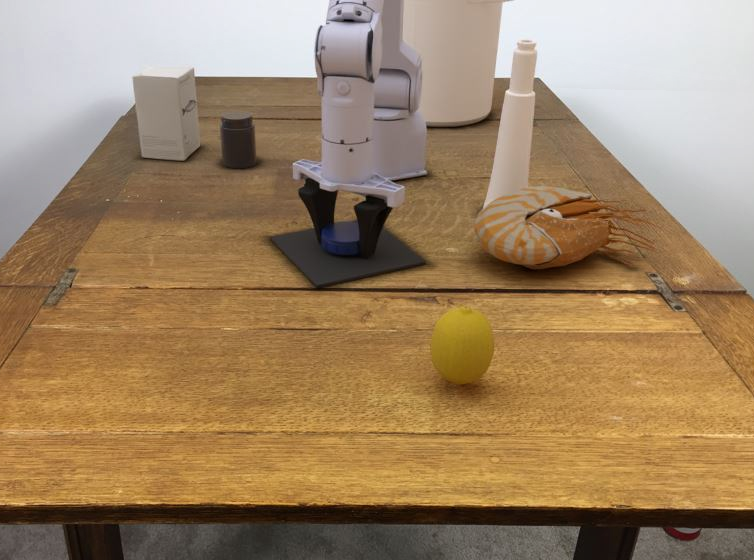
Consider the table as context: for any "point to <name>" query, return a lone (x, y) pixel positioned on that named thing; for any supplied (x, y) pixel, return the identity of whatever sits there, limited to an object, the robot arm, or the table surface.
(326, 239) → the jar lid
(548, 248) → the nautilus
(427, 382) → the table surface
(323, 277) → the mat
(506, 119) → the cosmetic bottle
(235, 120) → the jar
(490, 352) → the lemon
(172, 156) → the white packaging box
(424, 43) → the bucket
